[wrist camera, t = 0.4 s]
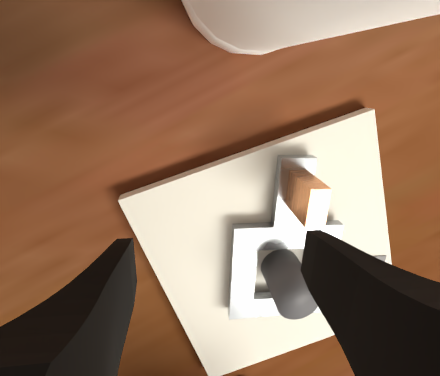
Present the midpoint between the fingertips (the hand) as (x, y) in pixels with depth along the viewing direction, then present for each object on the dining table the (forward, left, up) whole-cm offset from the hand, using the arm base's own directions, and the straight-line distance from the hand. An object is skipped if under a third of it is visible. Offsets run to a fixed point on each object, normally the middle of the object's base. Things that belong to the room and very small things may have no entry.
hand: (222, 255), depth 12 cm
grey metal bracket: (-6, -4, -8) cm, 11 cm away
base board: (-8, -3, -9) cm, 13 cm away
